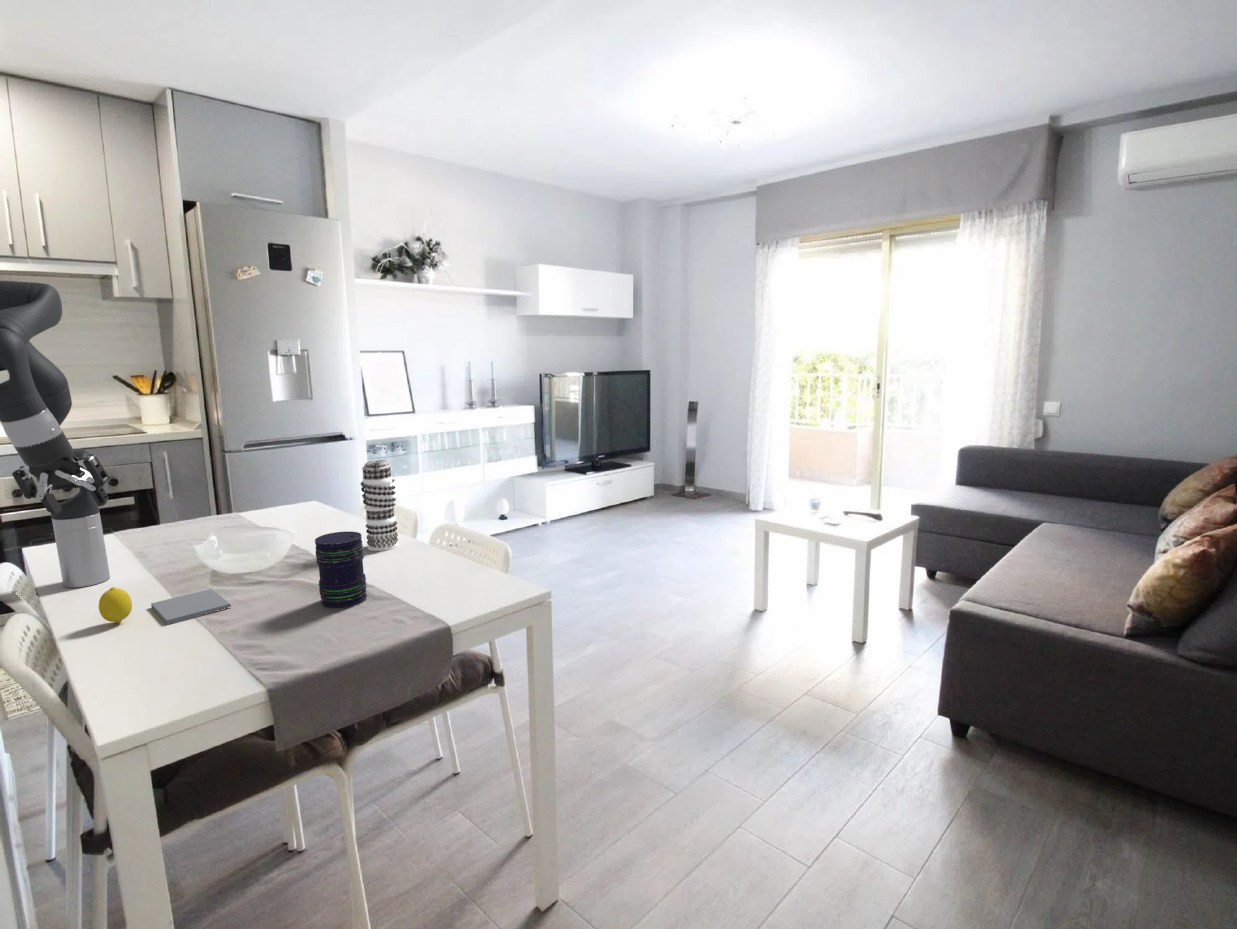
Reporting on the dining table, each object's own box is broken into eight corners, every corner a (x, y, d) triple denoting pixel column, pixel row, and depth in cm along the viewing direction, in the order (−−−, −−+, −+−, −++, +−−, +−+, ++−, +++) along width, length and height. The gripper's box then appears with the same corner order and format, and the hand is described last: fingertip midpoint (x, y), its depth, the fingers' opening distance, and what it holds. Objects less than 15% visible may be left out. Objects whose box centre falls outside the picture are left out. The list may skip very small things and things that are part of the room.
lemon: (96, 630, 136) (90, 593, 134) (109, 620, 141) (103, 584, 139) (128, 626, 137) (122, 590, 136) (138, 616, 142) (133, 581, 141)
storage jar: (317, 611, 144) (310, 545, 141) (324, 595, 153) (318, 533, 150) (365, 606, 146) (359, 541, 144) (369, 590, 155) (364, 529, 153)
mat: (151, 607, 147) (151, 603, 147) (212, 592, 156) (211, 588, 156) (167, 624, 138) (166, 620, 138) (230, 608, 146) (230, 603, 146)
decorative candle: (367, 543, 193) (359, 460, 189) (400, 540, 196) (393, 458, 192) (365, 552, 185) (357, 465, 180) (399, 549, 188) (392, 463, 183)
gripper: (88, 421, 127) (127, 492, 135) (8, 434, 125) (52, 505, 133) (67, 438, 120) (109, 511, 128) (-18, 451, 118) (30, 525, 126)
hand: (80, 508), depth 130 cm, fingers open, 8 cm apart
